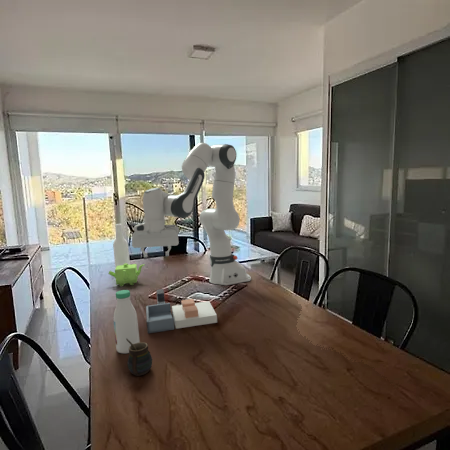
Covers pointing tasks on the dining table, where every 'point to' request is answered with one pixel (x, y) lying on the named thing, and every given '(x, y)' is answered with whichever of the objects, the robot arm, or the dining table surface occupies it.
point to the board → (204, 317)
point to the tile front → (190, 311)
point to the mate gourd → (139, 358)
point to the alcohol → (120, 247)
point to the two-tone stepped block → (160, 296)
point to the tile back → (187, 303)
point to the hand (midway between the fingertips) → (156, 256)
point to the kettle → (126, 274)
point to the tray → (159, 318)
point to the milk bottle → (125, 322)
